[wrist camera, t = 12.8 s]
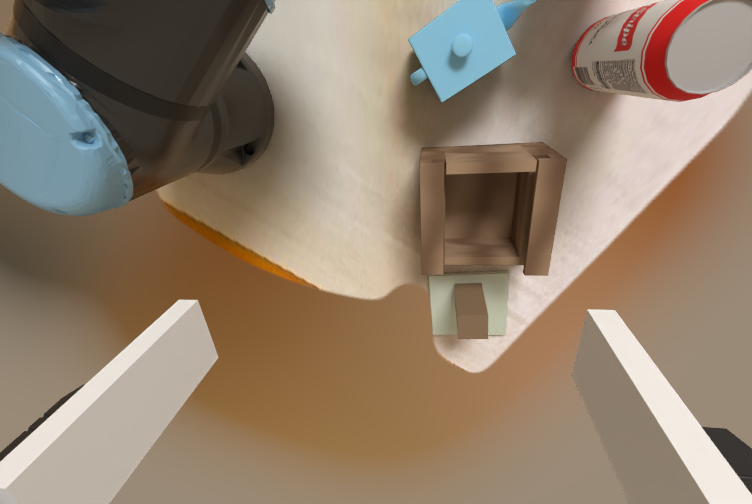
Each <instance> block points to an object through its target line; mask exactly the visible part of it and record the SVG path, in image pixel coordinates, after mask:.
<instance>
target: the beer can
mask: <svg viewBox="0 0 752 504" xmlns="http://www.w3.org/2000/svg"><path fill="white" fill-rule="evenodd" d="M571 68H572V71H573V74H574V77H575V79H576V80H577V81H578V82H579V84H580V85H582V86H583V87H585V88H587V89H589V90H594V91H602V92H609V93H616V94H624V95H631V96H638V97H645V98H653V99H660V100H668V101H678V102H681V101H687V100H692V99H697V98H701V97H703V96H706V95H708V94H710V93H713V92H718V91H720V90H722V89H724V88H726V87H728V86H731V85H733V84H734V83H736V82H737V81H738V80H740V79H741V78H742V77H744V76H745V75H746V74H748V73H749V72H750V70H751V69H752V0H664V1H661V2H657V3H654V4H650V5H647V6H643V7H640V8H637V9H633V10H630V11H626V12H623V13H619V14H616V15H612V16H609V17H606V18H603V19H601V20H600V21H598V22H596V23H594V24H593V25H591V26H590V27H589V28H588V29H587V30H586V31H585V32H584V33H583V34H582V36H581V37H580V39H579V40H578V42H577V44H576V45H575V48H574V51H573V54H572V67H571Z"/></svg>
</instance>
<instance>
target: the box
mask: <svg viewBox="0 0 752 504" xmlns="http://www.w3.org/2000/svg"><path fill="white" fill-rule="evenodd" d="M566 162H567V159H566V158H564V157H563V156H562V155H560V154H559V153H557V152H556V151H554V150H553V149H551V148H550V147H549V146H547V145H546V144H544V143H543V142H538V143H517V144H496V145H475V146H454V147H433V148H422V153H421V160H420V209H421V259H422V274H439V275H443V265H524V269H523V273H524V275H543V276H548V272H549V266H550V259H551V253H552V247H553V241H554V235H555V229H556V223H557V217H558V211H559V204H560V198H561V192H562V186H563V180H564V174H565V168H566Z"/></svg>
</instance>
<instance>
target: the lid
mask: <svg viewBox="0 0 752 504" xmlns="http://www.w3.org/2000/svg"><path fill="white" fill-rule="evenodd" d="M429 289H430V302H431V315H432V329H433V335H458V339H488V335H506V324H507V298H508V271H489V272H463V273H443V275H439V274H429Z"/></svg>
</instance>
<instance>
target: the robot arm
mask: <svg viewBox="0 0 752 504" xmlns="http://www.w3.org/2000/svg"><path fill="white" fill-rule="evenodd" d="M274 2H275V0H15V2H14V5H13V9H12V12H11V17H10V20H9V24H8V27H7V29H6V31H5V32H4V33H0V183H1V184H2V185H3V186H5V187H6V188H7V189H9V190H10V191H11V192H13V193H14V194H16V195H17V196H19V197H20V198H22V199H24V200H25V201H27V202H29V203H31V204H33V205H35V206H37V207H39V208H41V209H44V210H46V211H49V212H53V213H57V214H61V215H74V216H87V215H92V214H95V213H99V212H102V211H106V210H109V209H113V208H118V207H121V206H124V205H126V204H127V203H128V202H129V201H131V200H133V199H135V198H137V197H140V196H142V195H144V194H146V193H149V192H151V191H153V190H155V189H158V188H160V187H162V186H164V185H167V184H169V183H171V182H173V181H175V180H178V179H180V178H182V177H184V176H187V175H189V174H191V173H193V172H198V173H210V174H225V173H230V172H234V171H237V170H239V169H241V168H243V167H245V166H247V165H249V164H251V163H252V162H254V161H255V160H256V159H258V158H259V157H260V156H261V154H262V153H263V152H264V150H265V149H266V147H267V145H268V143H269V141H270V138H271V135H272V131H273V125H274V108H273V102H272V97H271V94H270V90H269V88H268V85H267V83H266V80H265V78H264V76H263V75H262V73H261V71H260V70H259V68H258V67H257V65H256V64H255V63H254V61H253V60H252V59H251V58H250V57H249V56H248V55H247V54H246V53H245V51H246V49H247V48H248V46H249V44H250V43H251V41H252V39H253V38H254V36H255V34H256V33H257V31H258V29H259V27H260V26H261V24H262V22H263V21H264V19H265V17H266V16H267V14H268V12H269V13H270V14H272V12H273V11H274V9H275V5H274ZM217 358H218V355H217V352H216V349H215V346H214V344H213V341H212V338H211V335H210V333H209V330H208V327H207V324H206V321H205V319H204V316H203V313H202V310H201V307H200V305H199V302H198V300H178V301H177V302H176V303H175V304H174V305H173V306H172V307H171V308H169V309H168V310H167V311H166V312H165V313H164V314H163V315H162V316H160V317H159V318H158V319H157V320H156V321H155V322H154V323H153V324H152V325H151V326H149V327H148V328H147V329H146V330H145V331H144V332H143V333H142V334H141V335H140V336H138V338H136V339H135V340H134V341H133V342H132V343H131V344H130V345H128V346H127V347H126V348H125V349H124V350H123V351H122V352H121V353H120V354H119V355H117V356H116V357H115V358H114V359H113V360H112V361H111V362H110V363H109V364H108V365H106V366H105V367H104V368H103V369H102V370H101V371H100V372H99V373H98V374H96V375H95V376H94V377H93V378H92V379H91V380H90V381H89V382H88V383H87V384H85V385H82V386H81V387H79V388H77V389H76V390H74V391H73V392H71V393H69V394H68V395H66V396H65V397H63V398H62V399H60V400H59V401H58V402H57V403H56V404H55V405H54V406H53V407H51V408H50V409H49V410H48V411H47V412H46V413H45V414H44V417H42V418H39V419H38V420H37V421H36V422H34V423H33V424H32V425H31V426H30V427H29V429H28V431H24V432H23V433H22V434H21V435H20V436H19V437H18V438H16V439H15V440H14V441H13V442H12V443H11V444H10V445H9V446H7V447H6V448H5V449H4V450H3V451H2V452H1V453H0V504H109V503H110V502H111V500H112V499H113V498H114V496H115V495H116V494H117V492H118V491H119V490H120V488H121V487H122V486H123V484H124V483H125V482H126V480H127V479H128V478H129V476H130V475H131V474H132V472H133V471H134V470H135V468H136V467H137V466H138V464H139V463H140V462H141V460H142V459H143V457H144V456H145V455H146V453H147V452H148V451H149V450H150V448H151V447H152V446H153V444H154V443H155V442H156V440H157V439H158V437H159V436H160V435H161V434H162V432H163V431H164V429H165V428H166V427H167V425H168V424H169V423H170V421H171V420H172V419H173V417H174V416H175V415H176V413H177V412H178V411H179V409H180V408H181V407H182V405H183V404H184V403H185V401H186V400H187V399H188V397H189V396H190V395H191V393H192V392H193V391H194V389H195V388H196V387H197V385H198V384H199V383H200V381H201V380H202V379H203V377H204V376H205V375H206V373H207V372H208V371H209V369H210V368H211V367H212V365H213V364H214V363H215V361H216V360H217ZM572 377H573V380H574V382H575V384H576V387H577V389H578V391H579V393H580V396H581V398H582V400H583V402H584V404H585V407H586V409H587V411H588V414H589V416H590V418H591V420H592V423H593V425H594V427H595V429H596V432H597V434H598V436H599V438H600V441H601V443H602V445H603V447H604V450H605V452H606V454H607V456H608V459H609V461H610V463H611V465H612V468H613V470H614V472H615V474H616V477H617V479H618V481H619V483H620V486H621V488H622V490H623V492H624V495H625V497H626V499H627V501H628V504H752V449H751V448H750V447H749V446H748V445H746V444H745V443H744V442H742V441H741V440H740V439H738V438H737V437H736V436H735V435H734V434H732V433H731V432H730V431H728V430H727V429H722V428H708V427H701V426H700V425H699V423H698V422H697V420H696V419H695V418H694V416H693V415H692V414H691V412H690V411H689V410H688V408H687V407H686V406H685V404H684V403H683V402H682V400H681V399H680V397H679V396H678V395H677V393H676V392H675V391H674V389H673V388H672V387H671V385H670V384H669V383H668V381H667V380H666V379H665V377H664V376H663V375H662V373H661V372H660V371H659V369H658V368H657V366H656V365H655V364H654V362H652V360H651V358H650V357H649V356H648V354H647V353H646V352H645V350H644V349H643V348H642V346H641V345H640V343H639V342H638V341H637V340H636V338H635V337H634V335H633V334H632V333H631V331H630V330H629V329H628V327H627V326H626V325H625V323H624V322H623V321H622V319H621V318H620V317H619V315H618V314H617V312H616V311H615V310H587V313H586V317H585V321H584V326H583V330H582V334H581V339H580V343H579V347H578V351H577V356H576V360H575V364H574V369H573V373H572Z"/></svg>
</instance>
